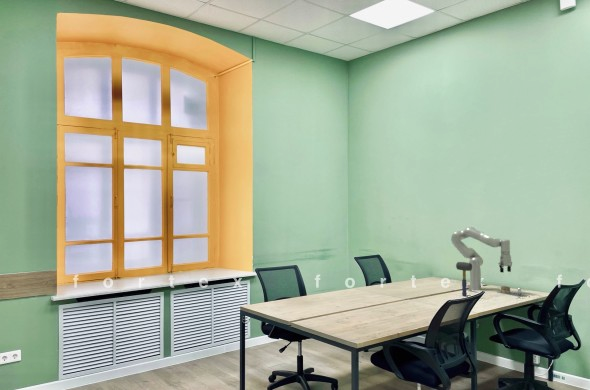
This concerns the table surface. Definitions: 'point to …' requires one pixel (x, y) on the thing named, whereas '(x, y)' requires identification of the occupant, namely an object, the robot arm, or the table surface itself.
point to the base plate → (514, 294)
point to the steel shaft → (519, 291)
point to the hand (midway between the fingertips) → (505, 271)
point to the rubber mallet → (464, 274)
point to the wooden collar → (505, 289)
